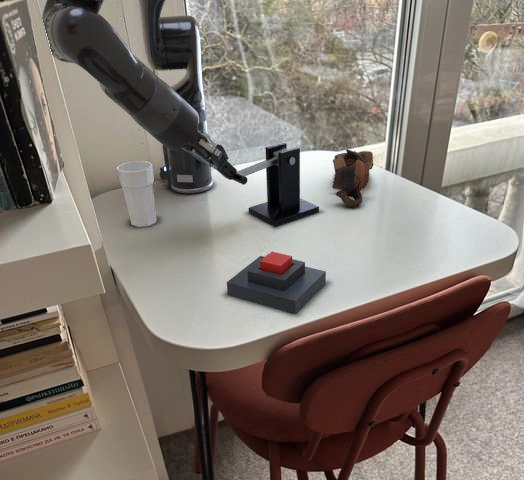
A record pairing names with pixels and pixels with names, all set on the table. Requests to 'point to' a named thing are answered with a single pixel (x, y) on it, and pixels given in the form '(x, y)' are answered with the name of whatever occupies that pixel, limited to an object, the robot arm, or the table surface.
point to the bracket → (283, 189)
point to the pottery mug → (351, 178)
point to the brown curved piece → (352, 161)
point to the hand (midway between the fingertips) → (232, 174)
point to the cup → (138, 191)
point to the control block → (277, 285)
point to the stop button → (276, 263)
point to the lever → (256, 168)
